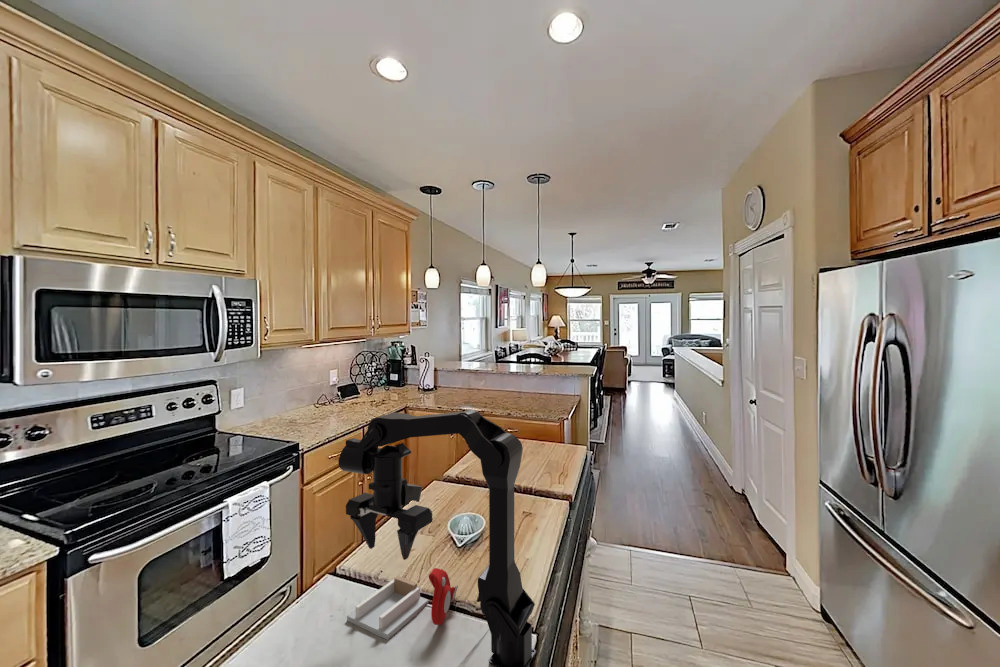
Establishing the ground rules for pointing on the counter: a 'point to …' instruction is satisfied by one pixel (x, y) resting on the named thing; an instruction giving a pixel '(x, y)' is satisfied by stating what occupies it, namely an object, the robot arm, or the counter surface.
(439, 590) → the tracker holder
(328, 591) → the counter surface
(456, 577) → the counter surface
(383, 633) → the grey walled tray
